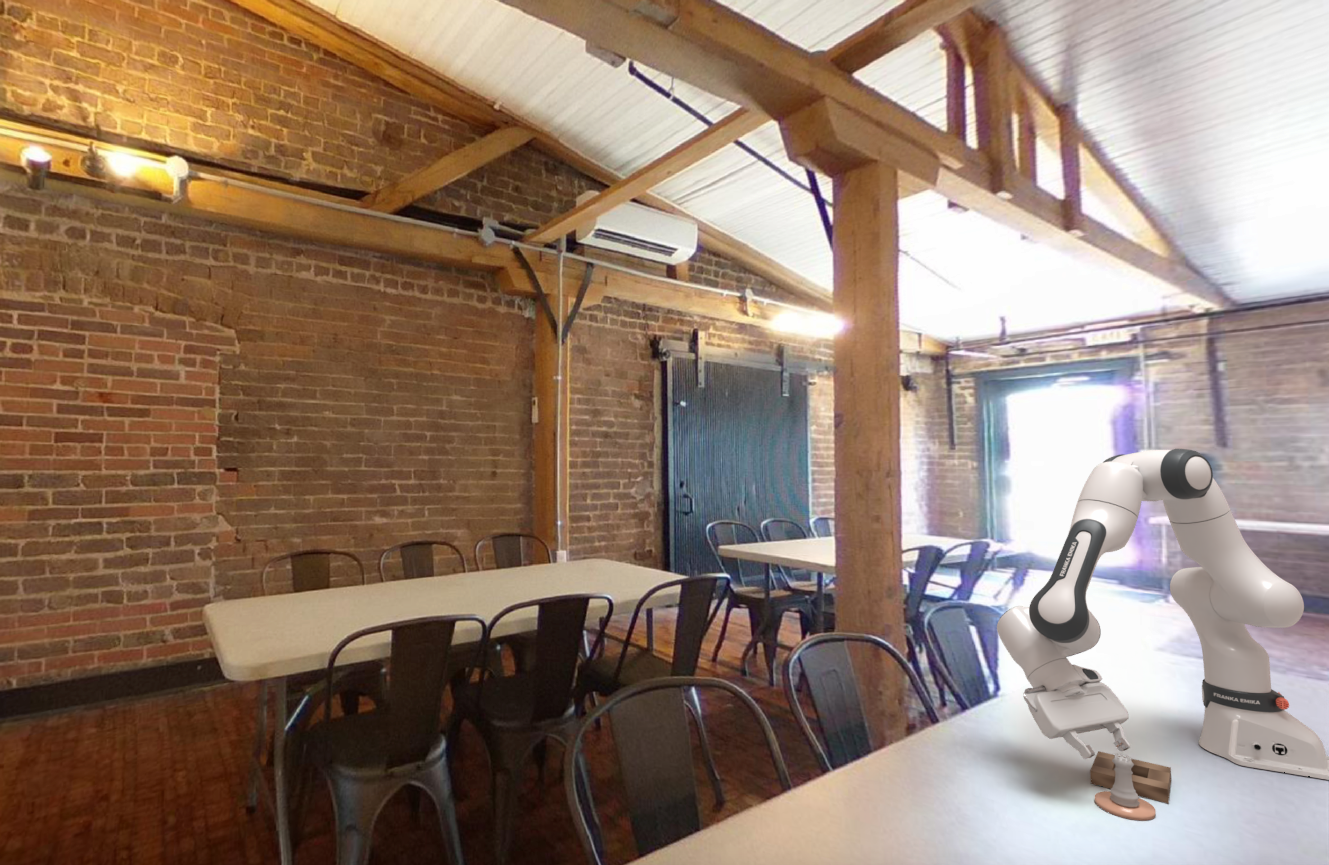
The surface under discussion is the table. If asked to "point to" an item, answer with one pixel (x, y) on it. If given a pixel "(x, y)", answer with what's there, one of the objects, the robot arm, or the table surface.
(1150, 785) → the socket block
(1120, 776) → the rook chess piece
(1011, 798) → the table surface
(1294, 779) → the table surface
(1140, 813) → the coaster
